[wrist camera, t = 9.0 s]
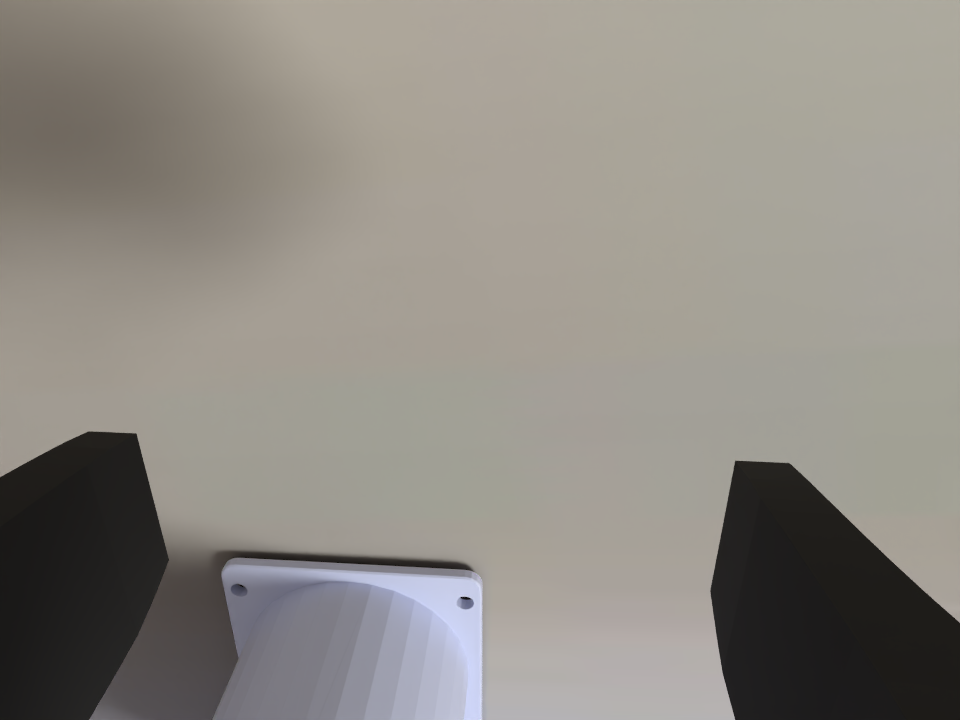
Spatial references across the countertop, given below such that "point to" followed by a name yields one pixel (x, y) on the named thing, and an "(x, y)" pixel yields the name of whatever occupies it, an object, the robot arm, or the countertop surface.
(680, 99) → the countertop surface
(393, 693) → the robot arm
